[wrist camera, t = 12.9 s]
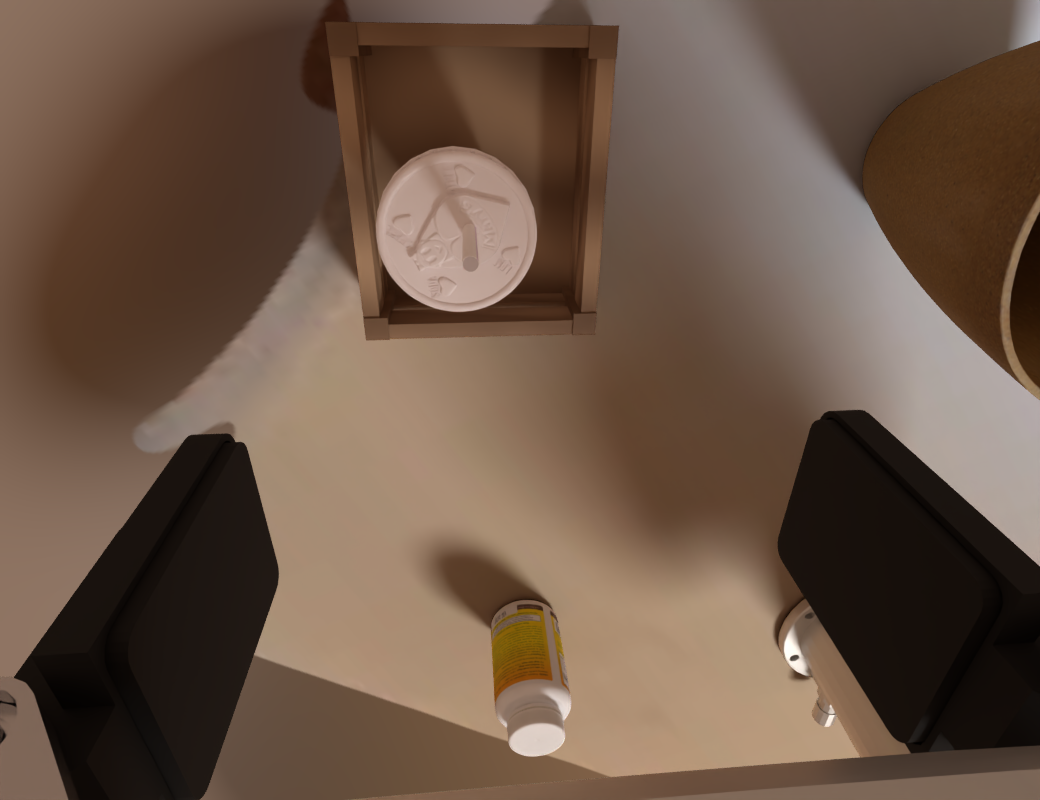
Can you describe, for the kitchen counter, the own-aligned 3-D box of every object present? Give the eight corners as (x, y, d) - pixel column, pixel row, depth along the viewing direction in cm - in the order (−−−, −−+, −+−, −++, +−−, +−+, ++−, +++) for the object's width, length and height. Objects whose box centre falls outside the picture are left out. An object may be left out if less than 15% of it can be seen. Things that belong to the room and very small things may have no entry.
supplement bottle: (476, 622, 50) (479, 745, 41) (523, 586, 48) (537, 705, 40) (523, 650, 52) (536, 772, 44) (570, 616, 51) (593, 736, 42)
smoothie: (540, 209, 33) (586, 302, 21) (442, 269, 34) (430, 390, 22) (477, 95, 30) (487, 127, 18) (371, 166, 31) (313, 241, 19)
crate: (579, 300, 37) (594, 334, 32) (377, 305, 36) (366, 340, 31) (595, 28, 30) (618, 25, 25) (345, 25, 29) (324, 21, 24)
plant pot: (983, -78, 29) (1465, -194, 15) (1099, 144, 34) (1524, 209, 21) (738, 172, 34) (931, 259, 20) (876, 330, 39) (1099, 482, 26)
